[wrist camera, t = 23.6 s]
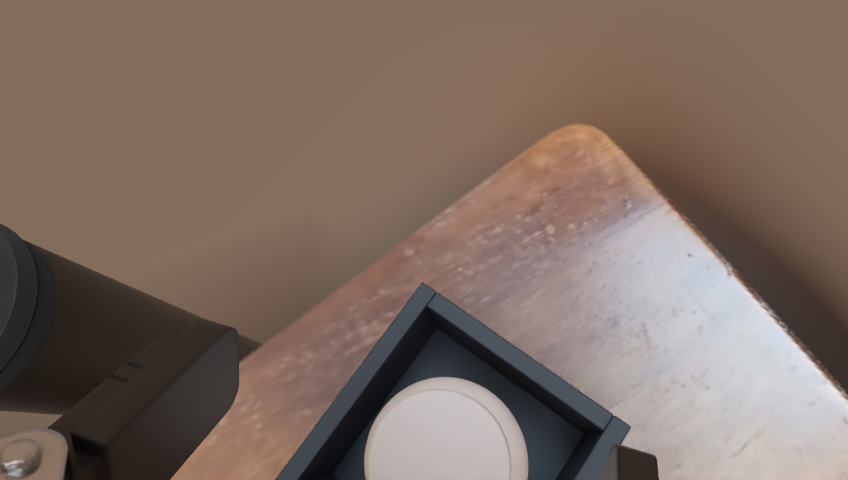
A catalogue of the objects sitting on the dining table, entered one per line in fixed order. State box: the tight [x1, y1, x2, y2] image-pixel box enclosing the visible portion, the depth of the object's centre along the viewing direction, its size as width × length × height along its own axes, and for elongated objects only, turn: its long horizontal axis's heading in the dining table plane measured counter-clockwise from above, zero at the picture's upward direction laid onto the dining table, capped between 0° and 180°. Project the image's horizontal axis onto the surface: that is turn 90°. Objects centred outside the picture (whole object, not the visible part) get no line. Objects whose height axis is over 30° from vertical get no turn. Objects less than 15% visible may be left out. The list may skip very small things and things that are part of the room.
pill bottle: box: [364, 377, 528, 480], centre depth 24 cm, size 6×6×11 cm
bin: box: [275, 283, 631, 480], centre depth 27 cm, size 11×11×6 cm
